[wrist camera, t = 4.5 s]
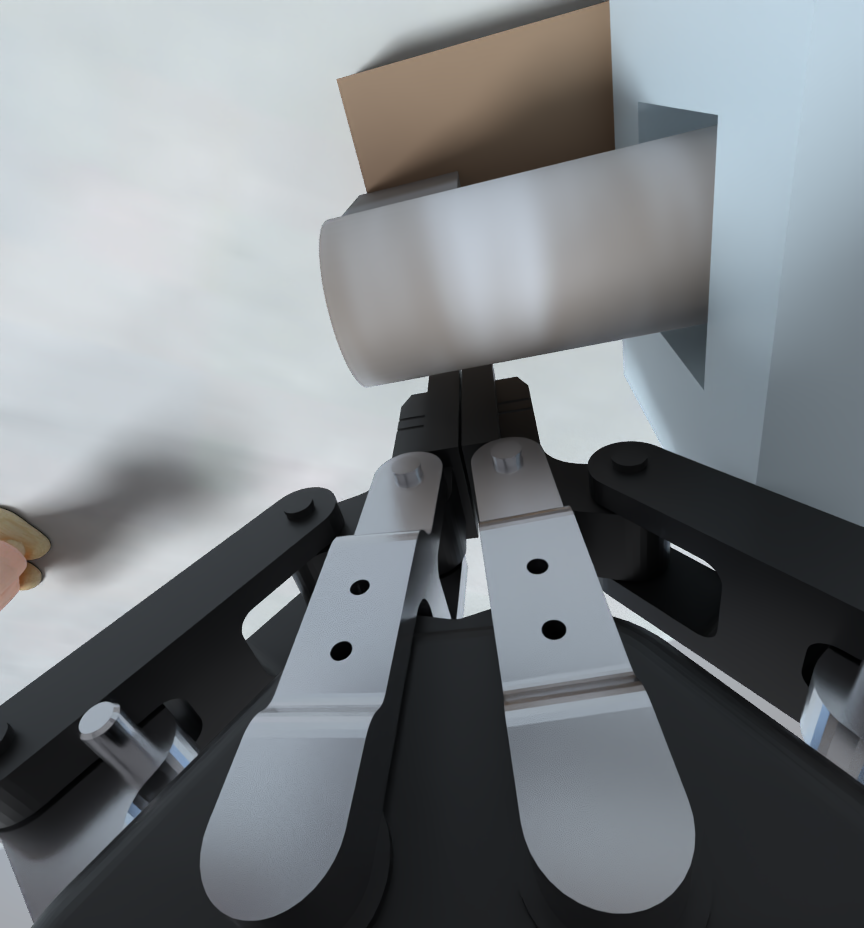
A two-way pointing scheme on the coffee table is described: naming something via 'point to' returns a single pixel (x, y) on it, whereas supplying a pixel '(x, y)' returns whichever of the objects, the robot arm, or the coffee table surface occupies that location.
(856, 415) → the square plate with hole
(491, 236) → the pipe stand
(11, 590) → the grandmother figurine
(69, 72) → the coffee table surface
